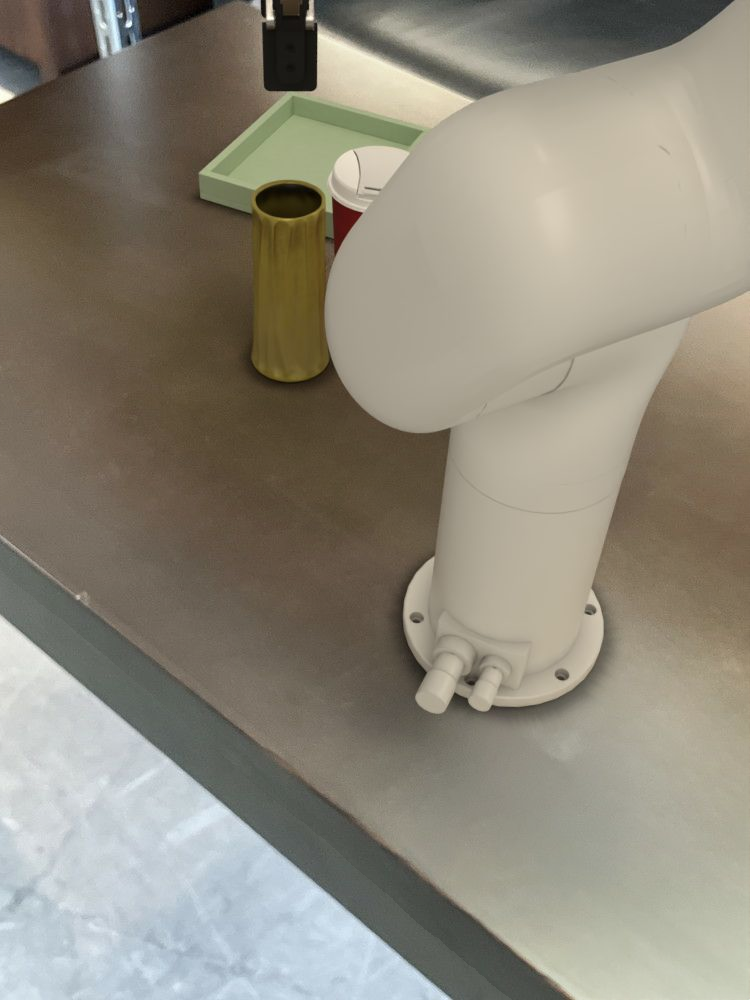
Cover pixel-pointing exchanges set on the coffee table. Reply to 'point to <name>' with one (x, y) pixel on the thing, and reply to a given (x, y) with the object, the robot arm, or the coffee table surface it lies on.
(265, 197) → the vase
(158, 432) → the coffee table surface
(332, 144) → the tray
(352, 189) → the paper cup
